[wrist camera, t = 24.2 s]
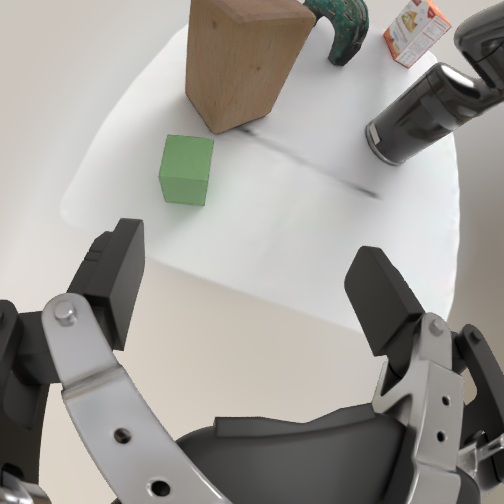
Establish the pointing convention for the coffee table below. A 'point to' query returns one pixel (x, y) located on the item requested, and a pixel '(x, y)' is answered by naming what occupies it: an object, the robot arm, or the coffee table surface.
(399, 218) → the coffee table surface
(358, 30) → the ceramic cat
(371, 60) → the coffee table surface
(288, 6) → the wooden block
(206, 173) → the green block
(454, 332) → the robot arm
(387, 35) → the cracker box
